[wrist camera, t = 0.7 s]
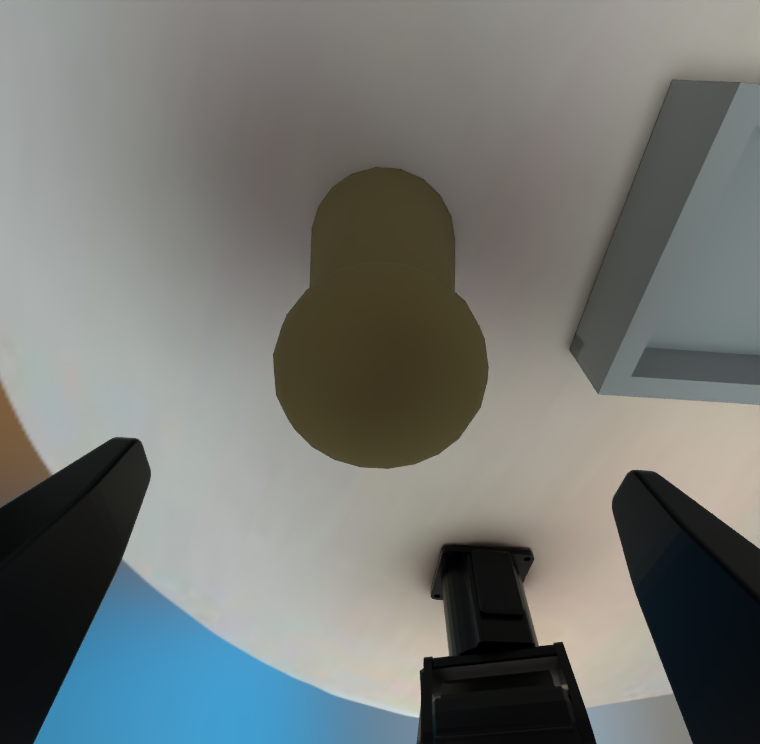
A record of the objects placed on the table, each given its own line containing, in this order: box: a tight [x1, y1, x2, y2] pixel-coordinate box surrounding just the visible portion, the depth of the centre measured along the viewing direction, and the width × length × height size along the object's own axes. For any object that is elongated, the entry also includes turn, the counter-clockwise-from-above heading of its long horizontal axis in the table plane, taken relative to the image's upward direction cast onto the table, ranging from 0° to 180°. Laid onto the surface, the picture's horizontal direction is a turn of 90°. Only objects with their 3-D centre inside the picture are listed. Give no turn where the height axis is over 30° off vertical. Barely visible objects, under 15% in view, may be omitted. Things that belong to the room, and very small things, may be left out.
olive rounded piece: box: [273, 167, 488, 469], centre depth 14 cm, size 6×6×11 cm
